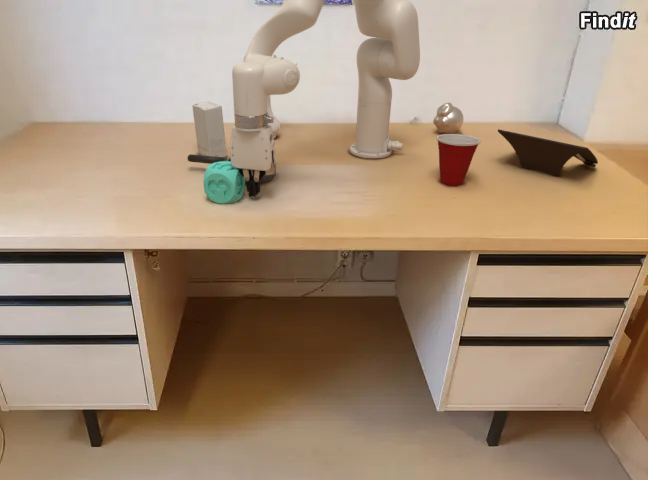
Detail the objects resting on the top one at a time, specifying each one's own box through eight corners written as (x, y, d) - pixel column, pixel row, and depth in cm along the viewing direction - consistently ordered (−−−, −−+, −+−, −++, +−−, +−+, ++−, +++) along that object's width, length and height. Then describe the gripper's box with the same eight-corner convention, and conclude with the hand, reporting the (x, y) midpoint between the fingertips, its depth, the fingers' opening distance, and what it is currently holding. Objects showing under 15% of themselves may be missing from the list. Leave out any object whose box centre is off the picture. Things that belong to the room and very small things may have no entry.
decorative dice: (216, 189, 142) (214, 159, 138) (246, 192, 140) (244, 162, 136) (204, 202, 135) (201, 171, 131) (235, 205, 133) (233, 174, 129)
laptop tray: (592, 190, 154) (606, 158, 152) (576, 176, 136) (591, 139, 134) (512, 170, 167) (523, 140, 166) (487, 155, 149) (500, 121, 147)
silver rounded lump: (430, 129, 184) (434, 98, 179) (459, 130, 183) (464, 99, 178) (432, 137, 177) (436, 105, 171) (463, 138, 175) (468, 106, 170)
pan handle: (230, 164, 150) (229, 156, 149) (227, 166, 149) (226, 159, 148) (189, 160, 153) (188, 153, 152) (186, 162, 151) (185, 155, 150)
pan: (281, 170, 153) (281, 154, 151) (267, 188, 142) (266, 171, 140) (237, 165, 156) (236, 150, 154) (219, 183, 145) (218, 166, 143)
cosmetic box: (227, 157, 162) (224, 106, 155) (209, 161, 160) (204, 109, 152) (214, 149, 168) (210, 100, 161) (196, 153, 166) (191, 103, 158)
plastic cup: (474, 177, 148) (482, 132, 141) (471, 192, 139) (480, 146, 133) (432, 172, 151) (438, 129, 144) (428, 187, 142) (434, 141, 136)
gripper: (287, 118, 127) (287, 192, 137) (226, 113, 131) (230, 186, 141) (277, 127, 121) (278, 204, 131) (214, 122, 125) (219, 197, 134)
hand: (253, 194), depth 136 cm, fingers closed
